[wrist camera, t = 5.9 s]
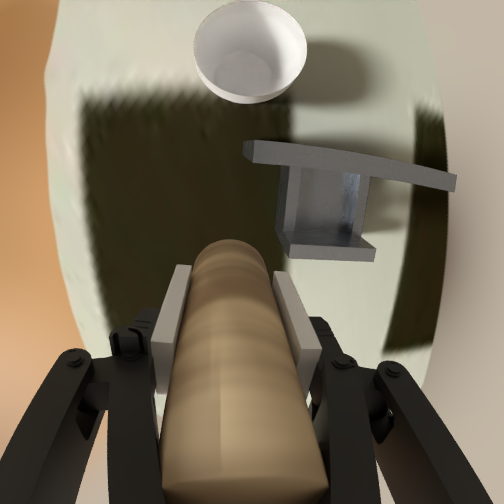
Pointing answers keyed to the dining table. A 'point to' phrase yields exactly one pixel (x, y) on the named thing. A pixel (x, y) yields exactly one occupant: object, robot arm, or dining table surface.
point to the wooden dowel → (236, 394)
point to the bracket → (331, 196)
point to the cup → (249, 51)
